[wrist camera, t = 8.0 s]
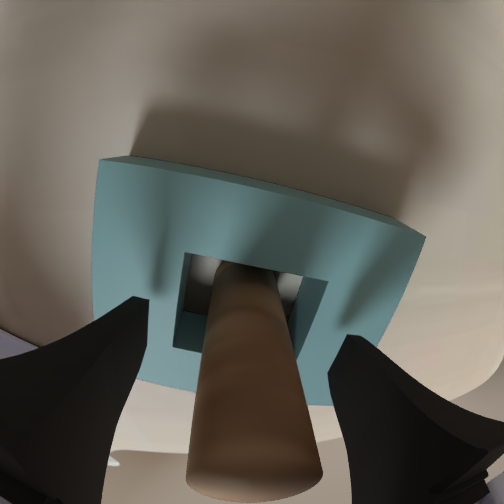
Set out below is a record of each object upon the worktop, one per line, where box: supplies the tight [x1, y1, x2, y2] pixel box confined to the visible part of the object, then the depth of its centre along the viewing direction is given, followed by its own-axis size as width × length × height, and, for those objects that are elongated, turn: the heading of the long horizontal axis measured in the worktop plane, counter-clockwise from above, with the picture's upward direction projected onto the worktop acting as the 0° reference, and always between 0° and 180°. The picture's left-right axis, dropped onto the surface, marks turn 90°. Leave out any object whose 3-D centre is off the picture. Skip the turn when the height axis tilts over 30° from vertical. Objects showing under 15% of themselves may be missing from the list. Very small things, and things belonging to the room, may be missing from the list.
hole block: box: [92, 156, 426, 406], centre depth 13 cm, size 13×10×3 cm
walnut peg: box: [186, 261, 323, 503], centre depth 9 cm, size 3×3×10 cm
